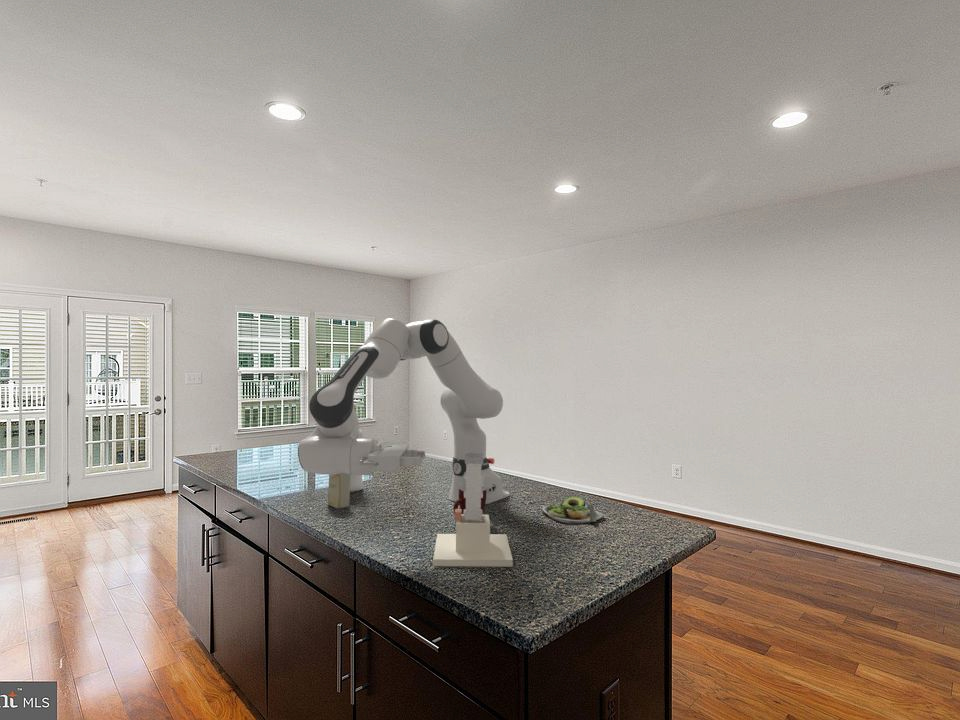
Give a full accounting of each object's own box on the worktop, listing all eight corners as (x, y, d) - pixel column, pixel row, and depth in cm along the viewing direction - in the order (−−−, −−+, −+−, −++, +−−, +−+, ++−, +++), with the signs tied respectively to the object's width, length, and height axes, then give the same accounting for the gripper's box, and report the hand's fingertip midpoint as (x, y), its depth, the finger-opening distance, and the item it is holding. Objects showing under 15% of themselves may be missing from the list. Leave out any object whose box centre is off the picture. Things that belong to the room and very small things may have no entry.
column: (462, 547, 126) (464, 453, 127) (481, 547, 127) (482, 453, 127) (462, 556, 120) (464, 457, 121) (482, 557, 120) (483, 457, 121)
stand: (437, 539, 132) (438, 501, 132) (506, 540, 132) (506, 501, 133) (432, 566, 114) (433, 521, 114) (512, 566, 115) (513, 522, 115)
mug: (466, 531, 139) (466, 494, 140) (446, 524, 145) (446, 489, 145) (491, 523, 147) (492, 488, 147) (471, 517, 152) (472, 484, 153)
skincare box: (327, 505, 163) (328, 467, 164) (339, 502, 167) (339, 465, 167) (338, 509, 159) (339, 470, 160) (350, 506, 163) (351, 468, 163)
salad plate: (618, 525, 149) (619, 509, 149) (563, 529, 143) (563, 513, 143) (586, 507, 167) (586, 493, 167) (536, 511, 162) (536, 496, 162)
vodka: (347, 494, 179) (349, 408, 179) (331, 489, 184) (333, 407, 185) (368, 489, 186) (370, 407, 186) (352, 485, 192) (354, 406, 192)
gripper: (357, 449, 113) (419, 451, 113) (374, 438, 133) (426, 439, 134) (356, 478, 112) (418, 479, 113) (373, 462, 133) (426, 463, 133)
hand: (423, 457), depth 123 cm, fingers open, 8 cm apart
